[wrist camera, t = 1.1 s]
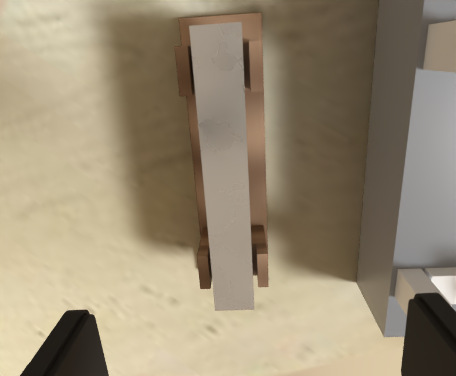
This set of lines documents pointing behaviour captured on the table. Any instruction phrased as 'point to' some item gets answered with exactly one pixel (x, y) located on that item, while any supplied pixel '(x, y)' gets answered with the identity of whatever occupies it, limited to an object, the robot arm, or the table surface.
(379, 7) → the equipment case
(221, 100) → the bar
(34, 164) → the table surface
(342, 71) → the table surface
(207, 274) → the bar stand
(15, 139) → the table surface
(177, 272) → the table surface
